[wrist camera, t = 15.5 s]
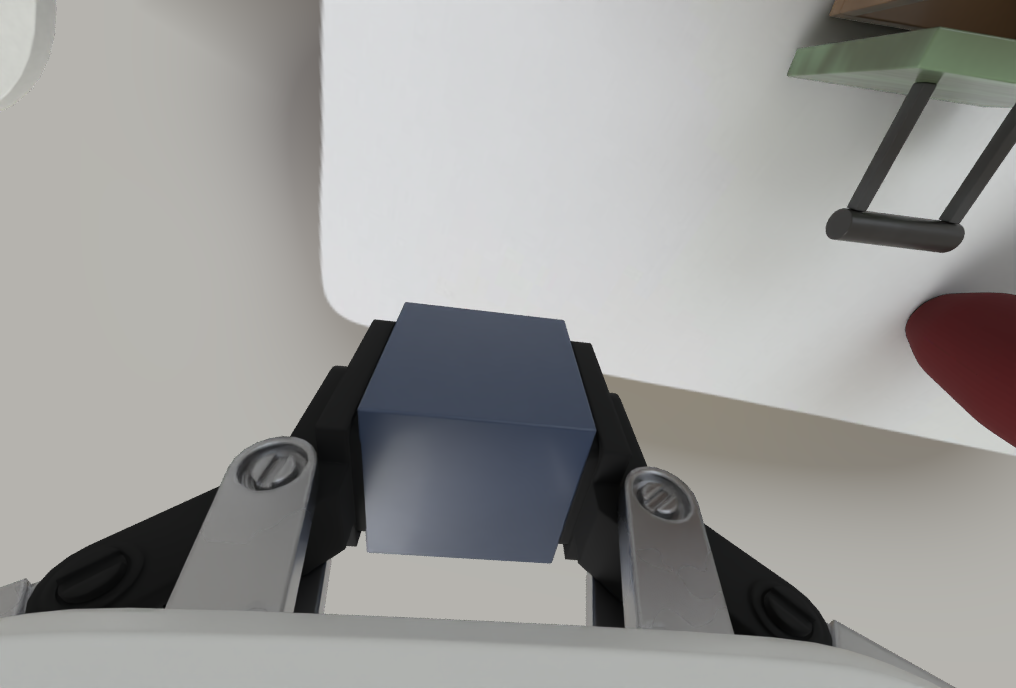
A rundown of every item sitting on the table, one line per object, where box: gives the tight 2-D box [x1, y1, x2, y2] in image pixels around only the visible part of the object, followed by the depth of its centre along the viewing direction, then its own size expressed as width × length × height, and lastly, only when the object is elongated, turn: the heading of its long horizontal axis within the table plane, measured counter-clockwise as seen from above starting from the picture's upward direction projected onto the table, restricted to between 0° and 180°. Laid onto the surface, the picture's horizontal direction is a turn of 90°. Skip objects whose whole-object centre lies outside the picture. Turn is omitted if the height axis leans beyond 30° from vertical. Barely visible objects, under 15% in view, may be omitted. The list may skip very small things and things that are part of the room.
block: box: [357, 302, 596, 563], centre depth 9 cm, size 4×4×4 cm
